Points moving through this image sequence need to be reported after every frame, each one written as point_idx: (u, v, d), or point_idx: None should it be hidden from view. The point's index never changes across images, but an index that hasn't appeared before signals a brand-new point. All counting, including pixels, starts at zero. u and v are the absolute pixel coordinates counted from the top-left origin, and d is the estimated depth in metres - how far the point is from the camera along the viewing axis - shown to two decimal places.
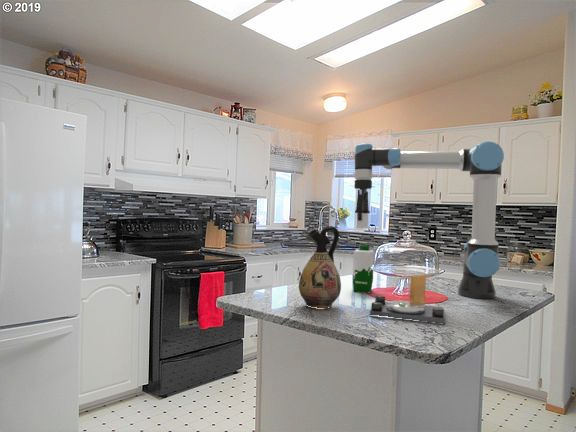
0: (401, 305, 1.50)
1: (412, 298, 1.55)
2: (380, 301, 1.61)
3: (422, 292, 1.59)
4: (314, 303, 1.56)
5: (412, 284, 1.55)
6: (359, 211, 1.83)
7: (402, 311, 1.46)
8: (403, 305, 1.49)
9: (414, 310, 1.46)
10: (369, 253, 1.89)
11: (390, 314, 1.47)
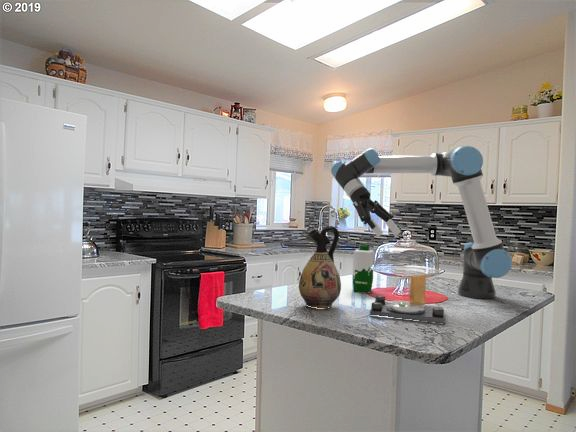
0: (401, 305, 1.50)
1: (412, 298, 1.55)
2: (380, 301, 1.61)
3: (422, 292, 1.59)
4: (314, 303, 1.56)
5: (412, 284, 1.55)
6: (365, 219, 1.61)
7: (402, 311, 1.46)
8: (403, 305, 1.49)
9: (414, 310, 1.46)
10: (369, 253, 1.89)
11: (390, 314, 1.47)
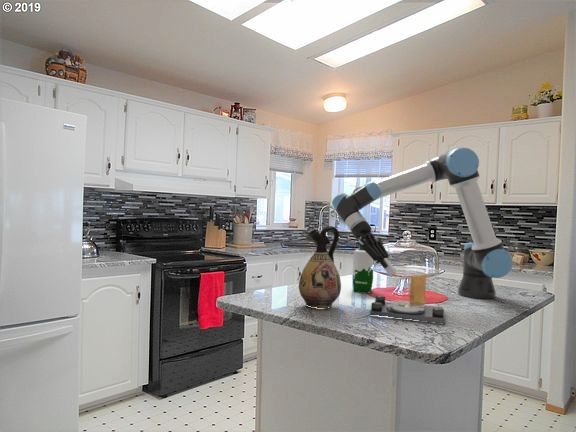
0: (401, 305, 1.50)
1: (412, 298, 1.55)
2: (380, 301, 1.61)
3: (422, 292, 1.59)
4: (314, 303, 1.56)
5: (412, 284, 1.55)
6: (377, 259, 1.64)
7: (402, 311, 1.46)
8: (403, 305, 1.49)
9: (414, 310, 1.46)
10: None
11: (390, 314, 1.47)
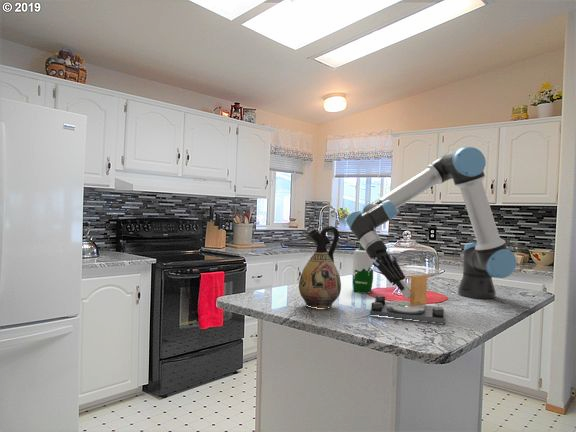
0: (401, 305, 1.50)
1: (412, 298, 1.55)
2: (380, 301, 1.61)
3: (423, 292, 1.58)
4: (314, 303, 1.56)
5: (412, 284, 1.55)
6: (394, 281, 1.59)
7: (401, 311, 1.47)
8: (403, 305, 1.49)
9: (413, 310, 1.46)
10: None
11: (390, 314, 1.47)
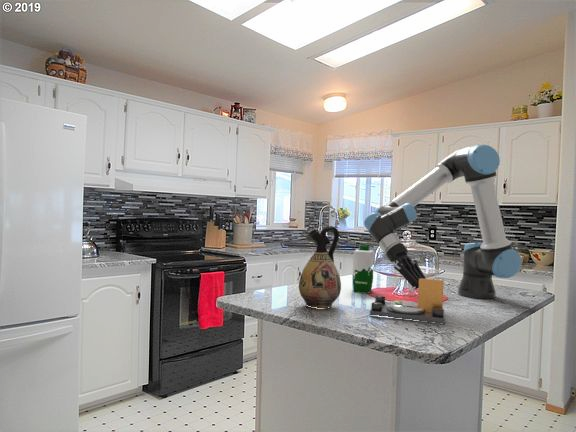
0: (395, 303, 1.53)
1: (418, 301, 1.51)
2: (380, 301, 1.61)
3: (436, 298, 1.48)
4: (314, 303, 1.56)
5: None
6: (416, 285, 1.53)
7: (387, 307, 1.52)
8: (396, 303, 1.52)
9: (393, 308, 1.48)
10: (369, 253, 1.89)
11: (390, 314, 1.47)
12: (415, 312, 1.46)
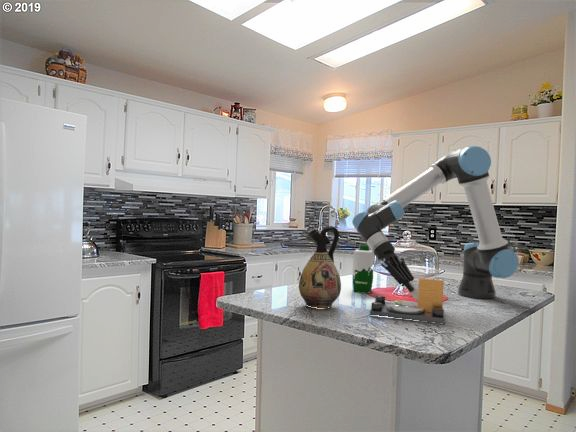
0: (395, 303, 1.53)
1: (418, 301, 1.51)
2: (380, 301, 1.61)
3: (436, 298, 1.48)
4: (314, 303, 1.56)
5: None
6: (403, 282, 1.56)
7: (387, 307, 1.52)
8: (396, 303, 1.52)
9: (393, 308, 1.48)
10: (369, 253, 1.89)
11: (390, 314, 1.47)
12: (415, 312, 1.46)
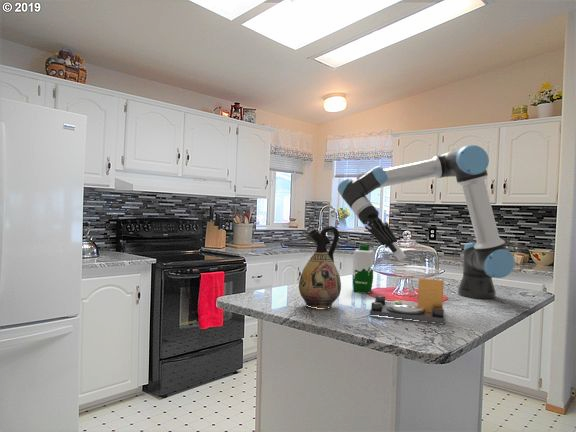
0: (395, 303, 1.53)
1: (418, 301, 1.51)
2: (380, 301, 1.61)
3: (436, 298, 1.48)
4: (314, 303, 1.56)
5: None
6: (386, 243, 1.61)
7: (387, 307, 1.52)
8: (396, 303, 1.52)
9: (393, 308, 1.48)
10: (369, 253, 1.89)
11: (390, 314, 1.47)
12: (415, 312, 1.46)
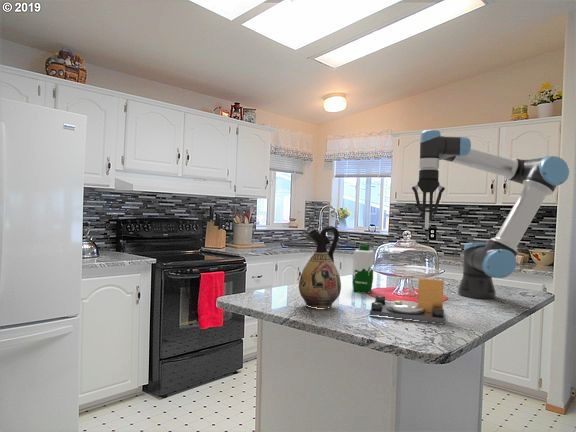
0: (395, 303, 1.53)
1: (418, 301, 1.51)
2: (380, 301, 1.61)
3: (436, 298, 1.48)
4: (314, 303, 1.56)
5: None
6: None
7: (387, 307, 1.52)
8: (396, 303, 1.52)
9: (393, 308, 1.48)
10: (369, 253, 1.89)
11: (390, 314, 1.47)
12: (415, 312, 1.46)
